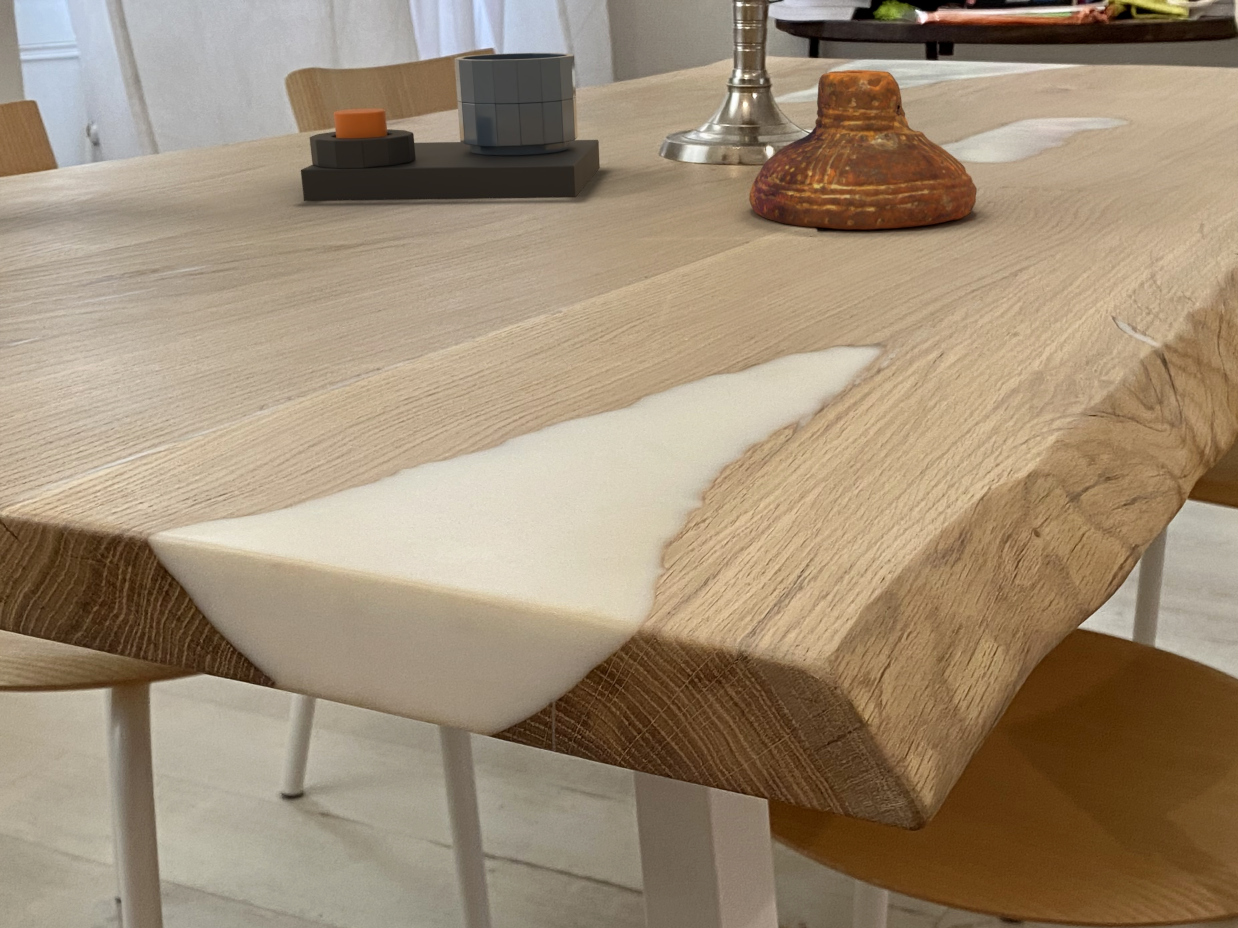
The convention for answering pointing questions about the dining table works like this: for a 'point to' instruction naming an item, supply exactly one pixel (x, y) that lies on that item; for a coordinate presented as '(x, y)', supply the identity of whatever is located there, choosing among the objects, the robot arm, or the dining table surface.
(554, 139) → the blue-grey cup
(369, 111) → the button
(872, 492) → the dining table surface
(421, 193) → the scale
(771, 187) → the bell
